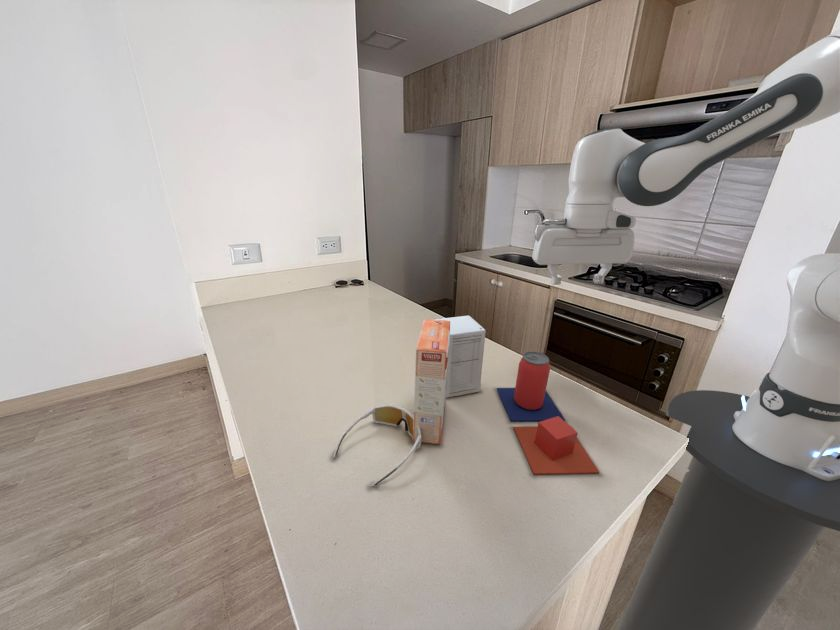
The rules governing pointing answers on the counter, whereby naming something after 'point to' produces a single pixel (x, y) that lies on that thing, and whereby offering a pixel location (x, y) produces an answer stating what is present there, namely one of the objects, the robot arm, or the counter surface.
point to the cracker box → (431, 380)
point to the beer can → (532, 380)
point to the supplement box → (464, 356)
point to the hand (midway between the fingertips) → (576, 283)
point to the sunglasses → (390, 417)
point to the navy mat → (523, 414)
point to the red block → (555, 437)
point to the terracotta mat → (563, 465)
